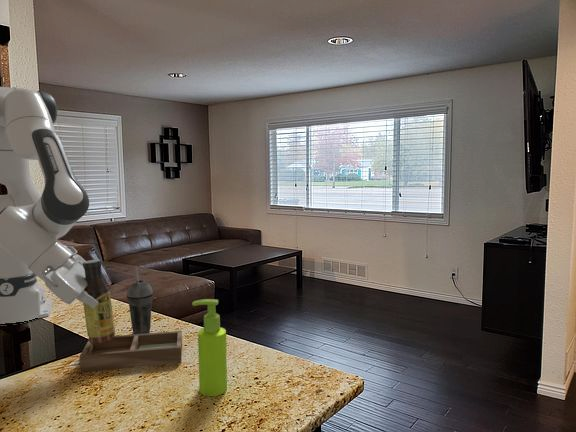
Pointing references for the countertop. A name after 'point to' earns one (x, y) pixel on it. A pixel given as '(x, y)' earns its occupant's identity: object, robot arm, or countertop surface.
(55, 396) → the countertop surface
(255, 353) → the countertop surface
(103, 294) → the sauce bottle
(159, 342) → the caddy
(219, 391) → the soap dispenser
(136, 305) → the beverage cup
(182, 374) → the countertop surface
